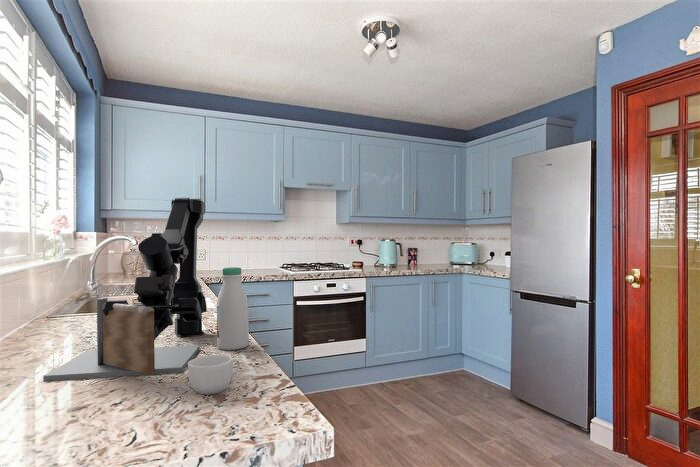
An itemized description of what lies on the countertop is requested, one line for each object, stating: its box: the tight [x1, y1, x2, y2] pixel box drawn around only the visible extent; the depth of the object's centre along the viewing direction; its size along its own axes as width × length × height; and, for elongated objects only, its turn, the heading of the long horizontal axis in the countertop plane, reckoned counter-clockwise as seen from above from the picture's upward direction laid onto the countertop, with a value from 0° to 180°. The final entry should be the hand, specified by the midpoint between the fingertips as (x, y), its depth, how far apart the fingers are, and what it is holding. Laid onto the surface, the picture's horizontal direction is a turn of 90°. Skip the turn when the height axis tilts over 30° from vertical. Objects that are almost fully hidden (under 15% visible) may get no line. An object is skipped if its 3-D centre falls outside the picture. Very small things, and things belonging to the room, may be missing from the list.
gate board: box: [42, 344, 201, 382], centre depth 93 cm, size 26×18×1 cm
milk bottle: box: [216, 266, 250, 351], centre depth 106 cm, size 8×8×20 cm
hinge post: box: [96, 297, 109, 365], centre depth 89 cm, size 2×2×14 cm
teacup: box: [187, 353, 241, 396], centre depth 76 cm, size 10×8×5 cm
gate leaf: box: [102, 303, 155, 375], centre depth 85 cm, size 15×2×13 cm, turn 60°
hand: (145, 346), depth 84 cm, fingers closed
